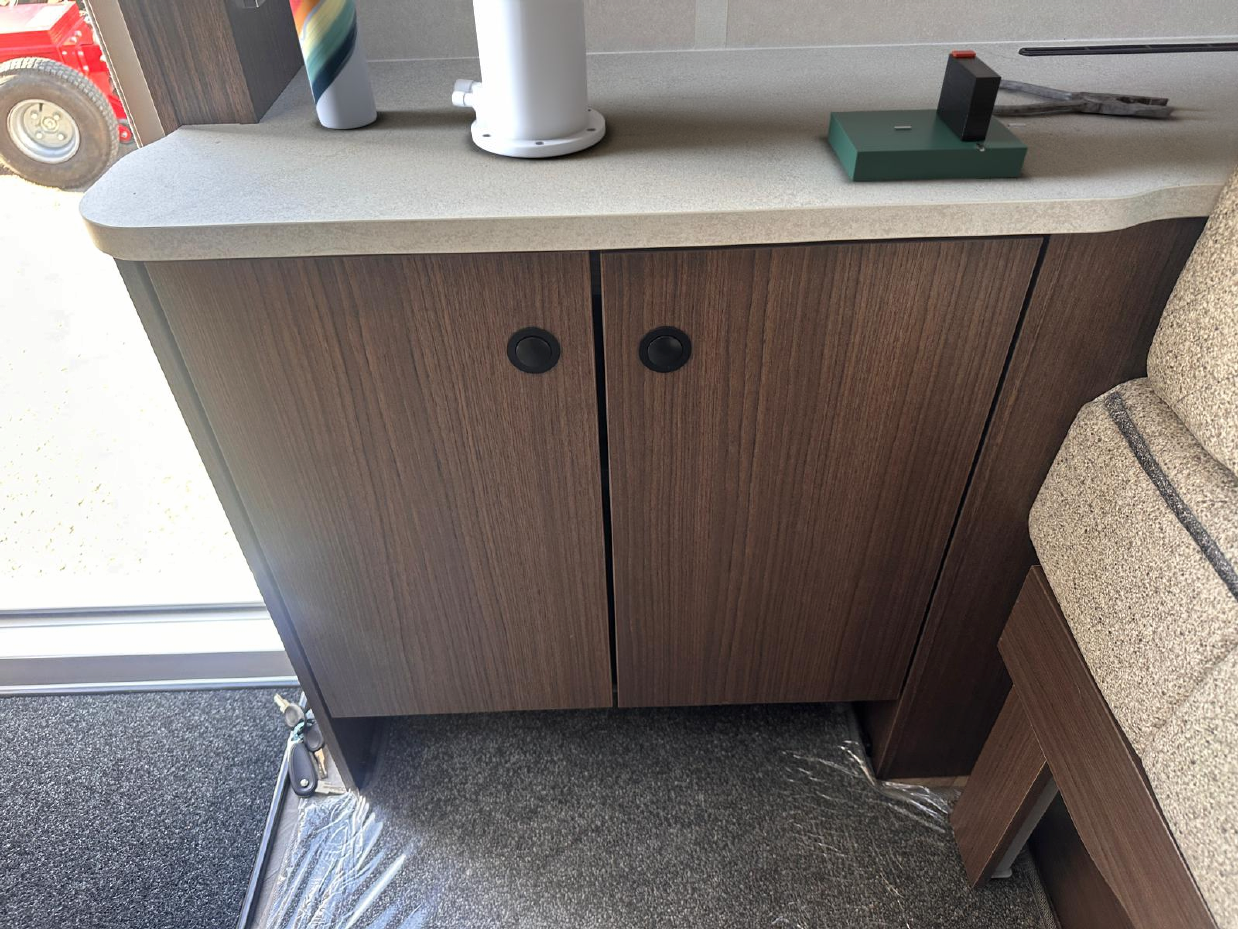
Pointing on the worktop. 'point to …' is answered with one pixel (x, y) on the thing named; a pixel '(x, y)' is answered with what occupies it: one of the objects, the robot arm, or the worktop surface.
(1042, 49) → the worktop surface
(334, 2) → the lotion bottle
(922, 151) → the green base
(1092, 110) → the pliers
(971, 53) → the block
